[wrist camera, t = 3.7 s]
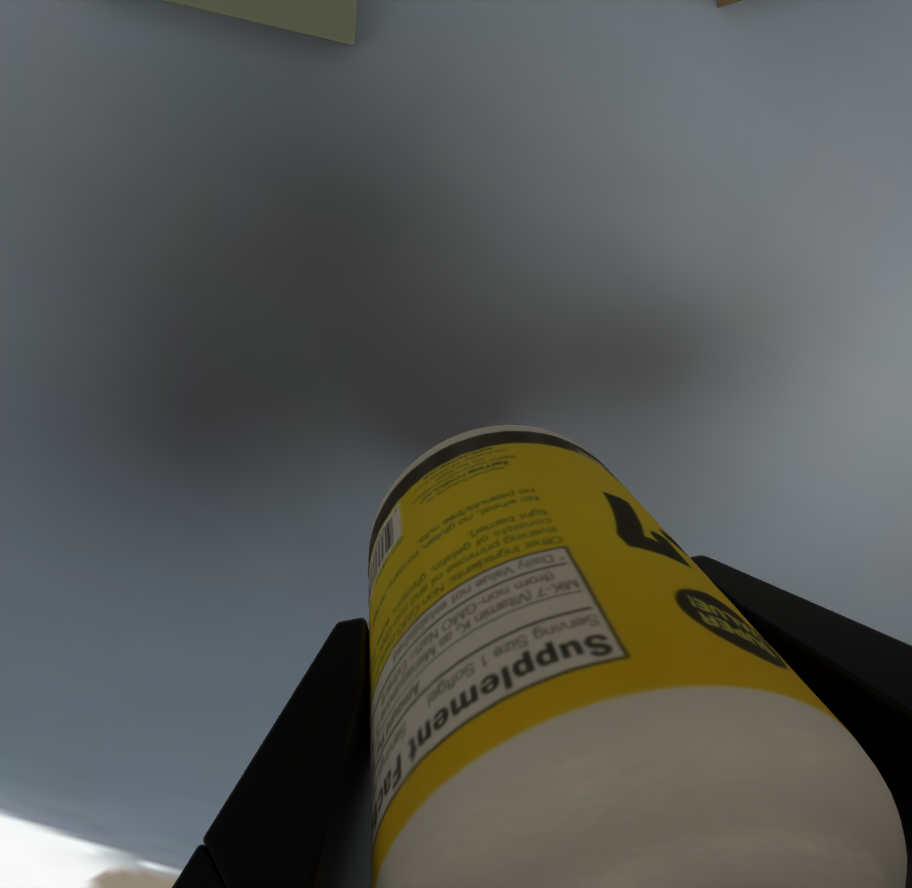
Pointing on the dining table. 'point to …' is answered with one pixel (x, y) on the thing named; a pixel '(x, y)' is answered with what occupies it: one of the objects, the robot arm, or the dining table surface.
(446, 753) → the supplement bottle
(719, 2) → the walnut block
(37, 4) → the dining table surface
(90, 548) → the dining table surface
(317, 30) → the sage block
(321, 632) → the dining table surface
